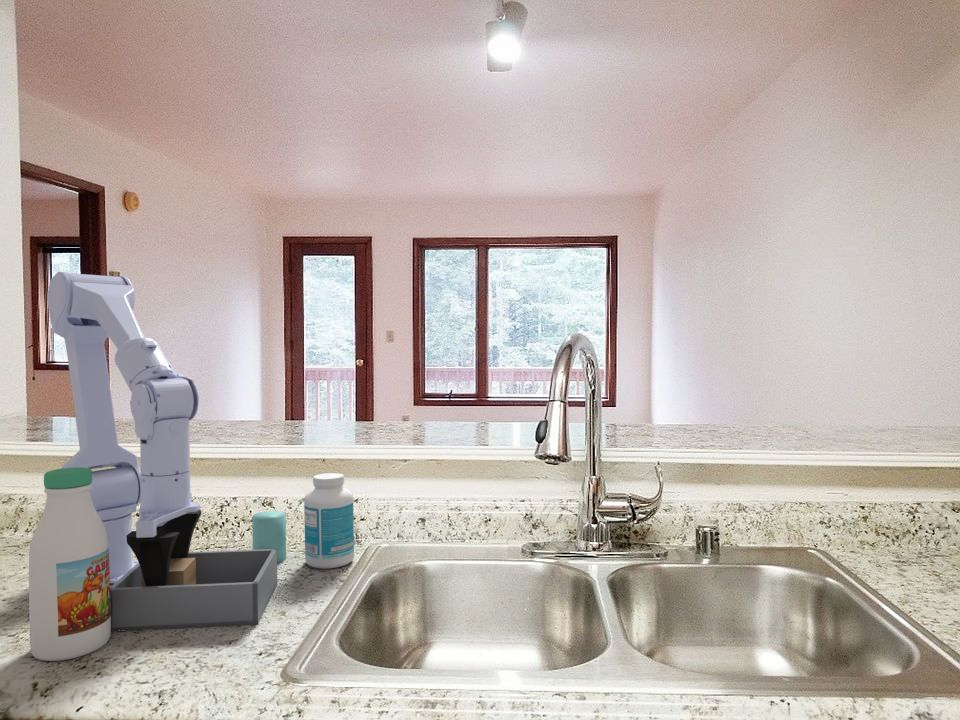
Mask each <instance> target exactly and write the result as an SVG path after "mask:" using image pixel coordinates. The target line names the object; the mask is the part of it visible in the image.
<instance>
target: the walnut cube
mask: <svg viewBox="0 0 960 720" xmlns="http://www.w3.org/2000/svg"><path fill="white" fill-rule="evenodd" d="M195 584H196V558H174V559H170V567H169V576H168V581H167V584H166V586H172V585H195ZM142 587H146V585H145V582H144V578H143V575H142Z"/></svg>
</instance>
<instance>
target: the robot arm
mask: <svg viewBox="0 0 960 720" xmlns="http://www.w3.org/2000/svg"><path fill="white" fill-rule="evenodd" d="M135 293H136V291H135V288H134V285H133V283H132V282H131V281H130V279H129V278H128V277H127V276H124V275H118V276H112V275H100V274H99V275H98V274H86V273H83V274H82V273H69V272H68V273H67V272H65V271H57V272H56V273H55V274H54V275H53V276H52V278H51V279H50V281H49V286H48V292H47V304H48V312H49V314H48V315H49V320H50V324H51V328H52V333H54V334H55V335H57V336H60V337H61V338H64V345H65V349H66V355H67V362H68V371H69V377H70V385H71V393H72V401H73V407H74V415H75V423H76V432H77V437H78V446H79V450H78V451H77V452H76V453H75V454H73V456H71V457H70V458H69V459H68V460H67V461H65V463H64V464H63V465H62V466H61V468H60V469H63V468H74V467H83V468H89V469H91V470H92V488H91V489H90V496H91V499H92V502H93V505H94V507H95V510H96V512H97V513H98V515H99V517H100V518H101V520H102V522H103V524H104V526H105V529H106V532H107V537H108V546H109V566H110V584H114V583H116V582H117V581H118V580H119V579H120V578H121V577H122V576H124V575H125V574H126V573H127V572H128V571H129V570H130V569H132V568H133V567H134V566H135V565H136V564H137V563H138V562H139V565H140V568H141V571H142V575H143V578H144V582H145V585H146V587H149V586H166V584H167V581H168V576H169V567H170V559H174V558H188V553H189V552H190V547H191V543H192V539H193V538H192V537H193V534H194V531H195V529H196V527H197V524H198V521H199V519H200V518H201V516H202V510H201V503H199V502H195V503H194V502H192V500H193V499H192V492H191V453H190V452H191V450H190V449H191V448H190V446H191V443H190V442H191V441H190V434H191V433H190V431H191V430H190V421H192V420H193V419H194V418H195V417H196V415H197V413H198V410H199V399H200V398H199V392H198V389H197V386H196V384H195V382H194V380H193V379H192V377H190V376H187V375H186V376H185V375H183V374H182V373H181V372H176V371H175V369H174V367H173V366H172V364H171V362H170V361H169V359H168V357H167V356H166V354H165V353H164V351H163V349H162V347H161V345H159V343H158V342H157V340H155V339H152V338H148V337H145V334H144V332H143V331H142V329H141V326H140V324H139V321H138V319H137V317H136V314H135V313H134V306H135V304H136V303H135V301H136V294H135ZM107 338H109V339H110V340H111V342H112V343H113V345H114V346H115V347H116V348H117V350H116V352H115V354H114V363H115V365H116V366H117V368H118V370H119V372H120V374H121V377H123V379H124V381H125V383H126V385H127V386H128V389H129V390H130V392H131V396H130V400H129V403H130V404H129V405H130V412H131V416H132V418H133V421H134V429H135V430H134V431H135V434H136V438H139V442H140V443H139V444H140V447H139V448H140V449H139V450H140V464H139V459H138V455H136V454H135V453H133V452H132V451H130V450H128V449H126V448H124V447H123V446H121V445H120V444H119V440H118V433H117V426H116V419H115V412H114V405H113V398H112V390H111V385H110V384H111V383H110V377H109V371H108V361H107V355H106V347H105V342H106V340H107ZM109 467H110V468H109ZM111 467H113V468H111ZM102 468H106V469H102ZM97 469H99V470H97ZM100 469H101V470H100ZM139 505H140V507H139V513H138V517H139V518H138V520H137V521H136V522H135V530H133V516H132V515H133V513H137V507H138V506H139ZM133 554H134V556H135V557H136V561H133Z"/></svg>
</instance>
